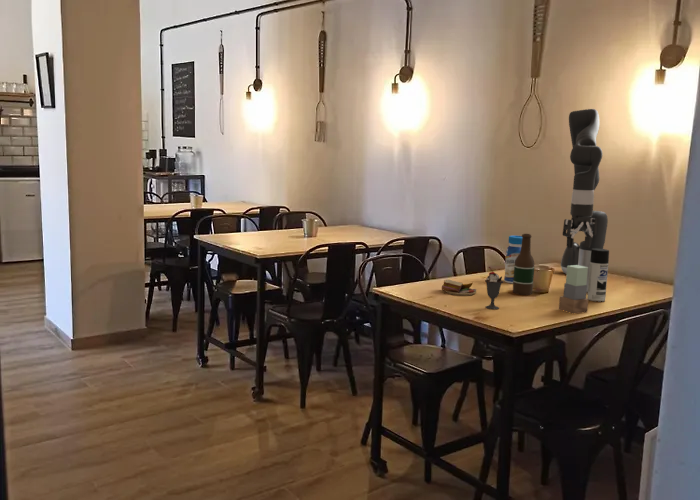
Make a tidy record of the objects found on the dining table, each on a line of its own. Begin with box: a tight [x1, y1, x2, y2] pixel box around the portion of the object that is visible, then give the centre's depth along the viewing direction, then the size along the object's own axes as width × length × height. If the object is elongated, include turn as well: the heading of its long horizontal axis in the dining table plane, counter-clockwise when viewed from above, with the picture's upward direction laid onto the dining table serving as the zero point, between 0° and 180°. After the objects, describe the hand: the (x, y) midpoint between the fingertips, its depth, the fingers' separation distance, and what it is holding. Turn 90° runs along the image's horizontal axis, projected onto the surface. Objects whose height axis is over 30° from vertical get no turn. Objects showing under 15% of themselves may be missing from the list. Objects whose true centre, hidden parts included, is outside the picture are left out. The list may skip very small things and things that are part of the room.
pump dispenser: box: [560, 241, 580, 275], centre depth 315 cm, size 10×10×15 cm
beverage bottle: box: [503, 235, 522, 284], centre depth 292 cm, size 8×8×20 cm
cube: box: [562, 282, 588, 300], centre depth 245 cm, size 6×6×5 cm
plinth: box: [558, 295, 589, 315], centre depth 246 cm, size 7×7×5 cm
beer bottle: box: [512, 233, 535, 296], centre depth 271 cm, size 8×8×24 cm
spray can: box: [586, 248, 610, 303], centre depth 263 cm, size 7×7×20 cm
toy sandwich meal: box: [441, 279, 477, 297], centre depth 270 cm, size 12×14×5 cm
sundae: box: [484, 266, 504, 310], centre depth 245 cm, size 7×7×15 cm
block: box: [565, 265, 588, 286], centre depth 244 cm, size 5×5×6 cm
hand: (578, 247), depth 243 cm, fingers open, 8 cm apart
